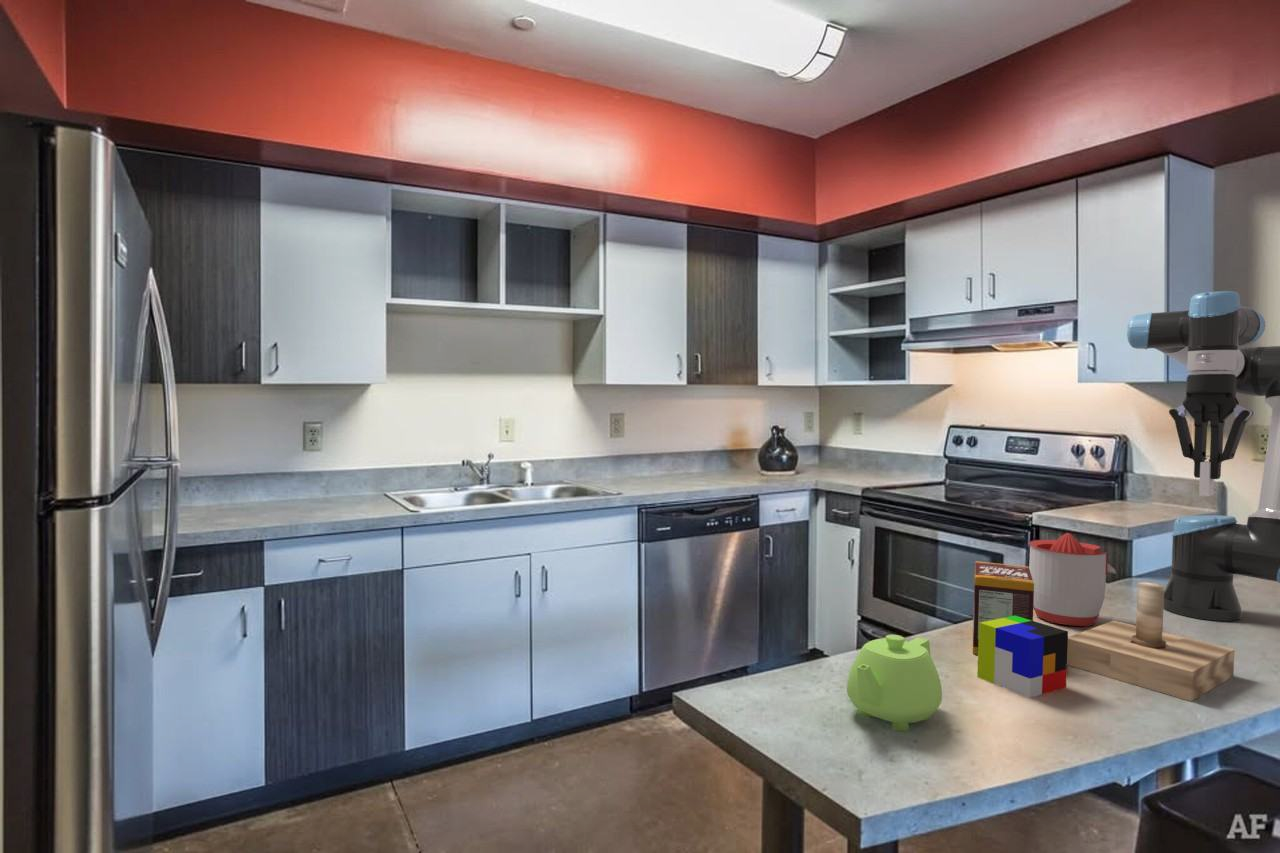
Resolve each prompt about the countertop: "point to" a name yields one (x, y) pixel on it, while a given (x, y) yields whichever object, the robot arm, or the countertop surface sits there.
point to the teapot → (895, 681)
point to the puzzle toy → (1022, 655)
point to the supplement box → (1001, 594)
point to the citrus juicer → (1068, 580)
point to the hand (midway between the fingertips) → (1206, 495)
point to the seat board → (1152, 660)
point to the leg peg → (1149, 616)
